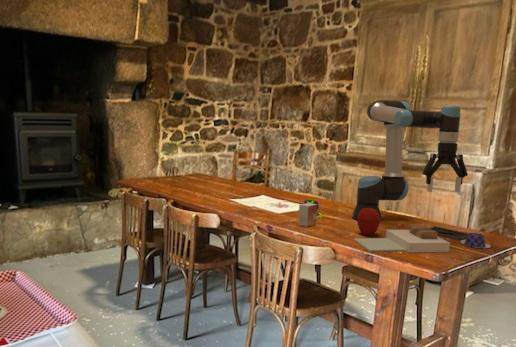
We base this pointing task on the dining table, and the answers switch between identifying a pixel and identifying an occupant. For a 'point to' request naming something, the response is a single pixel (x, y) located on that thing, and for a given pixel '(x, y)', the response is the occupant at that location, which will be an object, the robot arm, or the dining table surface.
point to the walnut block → (423, 232)
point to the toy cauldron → (313, 203)
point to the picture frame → (450, 233)
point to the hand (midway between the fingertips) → (443, 191)
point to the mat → (379, 244)
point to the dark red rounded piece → (368, 221)
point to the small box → (307, 214)
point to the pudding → (475, 241)
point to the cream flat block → (417, 242)
